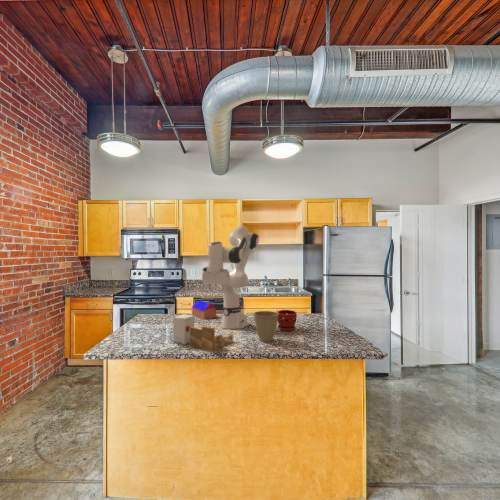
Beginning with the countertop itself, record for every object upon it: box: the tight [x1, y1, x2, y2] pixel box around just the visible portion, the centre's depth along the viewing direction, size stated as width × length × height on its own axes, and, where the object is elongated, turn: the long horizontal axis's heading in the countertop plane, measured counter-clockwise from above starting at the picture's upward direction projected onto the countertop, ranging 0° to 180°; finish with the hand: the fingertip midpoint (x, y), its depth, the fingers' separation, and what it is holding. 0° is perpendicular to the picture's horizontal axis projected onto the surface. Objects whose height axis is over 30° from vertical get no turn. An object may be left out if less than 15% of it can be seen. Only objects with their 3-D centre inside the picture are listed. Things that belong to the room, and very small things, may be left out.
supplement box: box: [172, 313, 195, 345], centre depth 173 cm, size 9×9×15 cm
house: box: [191, 300, 217, 320], centre depth 242 cm, size 12×20×12 cm, turn 40°
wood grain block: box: [189, 325, 223, 352], centre depth 164 cm, size 8×17×12 cm, turn 53°
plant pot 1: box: [253, 310, 279, 343], centre depth 175 cm, size 15×15×16 cm
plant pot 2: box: [277, 309, 298, 332], centre depth 199 cm, size 13×13×12 cm
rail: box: [222, 333, 234, 346], centre depth 167 cm, size 17×3×5 cm, turn 143°
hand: (216, 291), depth 175 cm, fingers open, 8 cm apart
